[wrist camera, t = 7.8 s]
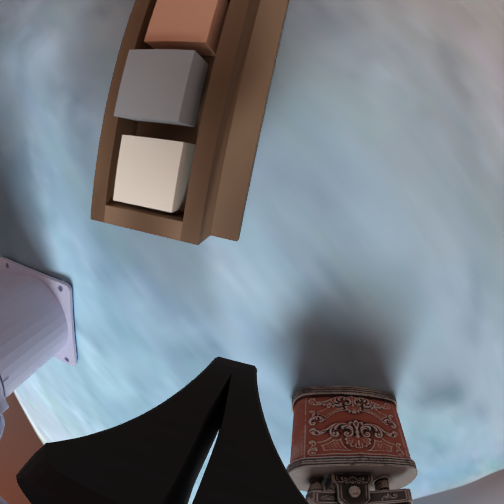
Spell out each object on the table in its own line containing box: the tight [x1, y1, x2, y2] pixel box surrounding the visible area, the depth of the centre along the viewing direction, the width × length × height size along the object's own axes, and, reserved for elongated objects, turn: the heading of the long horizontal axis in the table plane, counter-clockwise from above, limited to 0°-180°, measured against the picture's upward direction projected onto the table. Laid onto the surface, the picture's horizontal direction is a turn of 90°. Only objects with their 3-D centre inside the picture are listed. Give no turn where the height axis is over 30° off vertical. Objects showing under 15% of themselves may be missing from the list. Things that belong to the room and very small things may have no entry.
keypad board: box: [91, 0, 289, 245], centre depth 16 cm, size 10×15×3 cm, turn 169°
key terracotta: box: [144, 0, 230, 56], centre depth 14 cm, size 4×4×2 cm
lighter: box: [287, 386, 417, 504], centre depth 16 cm, size 8×3×10 cm, turn 85°
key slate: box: [114, 49, 209, 127], centre depth 14 cm, size 4×4×2 cm
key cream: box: [113, 135, 196, 213], centre depth 17 cm, size 4×4×2 cm
